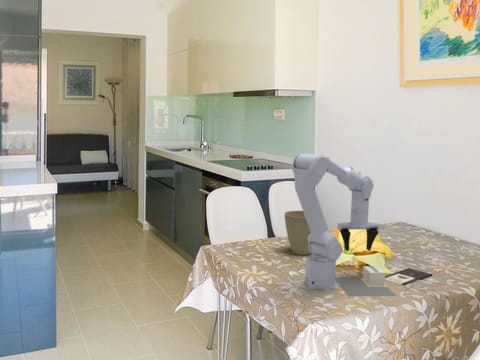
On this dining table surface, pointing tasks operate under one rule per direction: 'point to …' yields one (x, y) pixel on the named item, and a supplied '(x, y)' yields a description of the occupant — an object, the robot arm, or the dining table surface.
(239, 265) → the dining table surface
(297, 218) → the plant pot
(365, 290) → the mat
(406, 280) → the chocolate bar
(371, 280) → the card deck box
